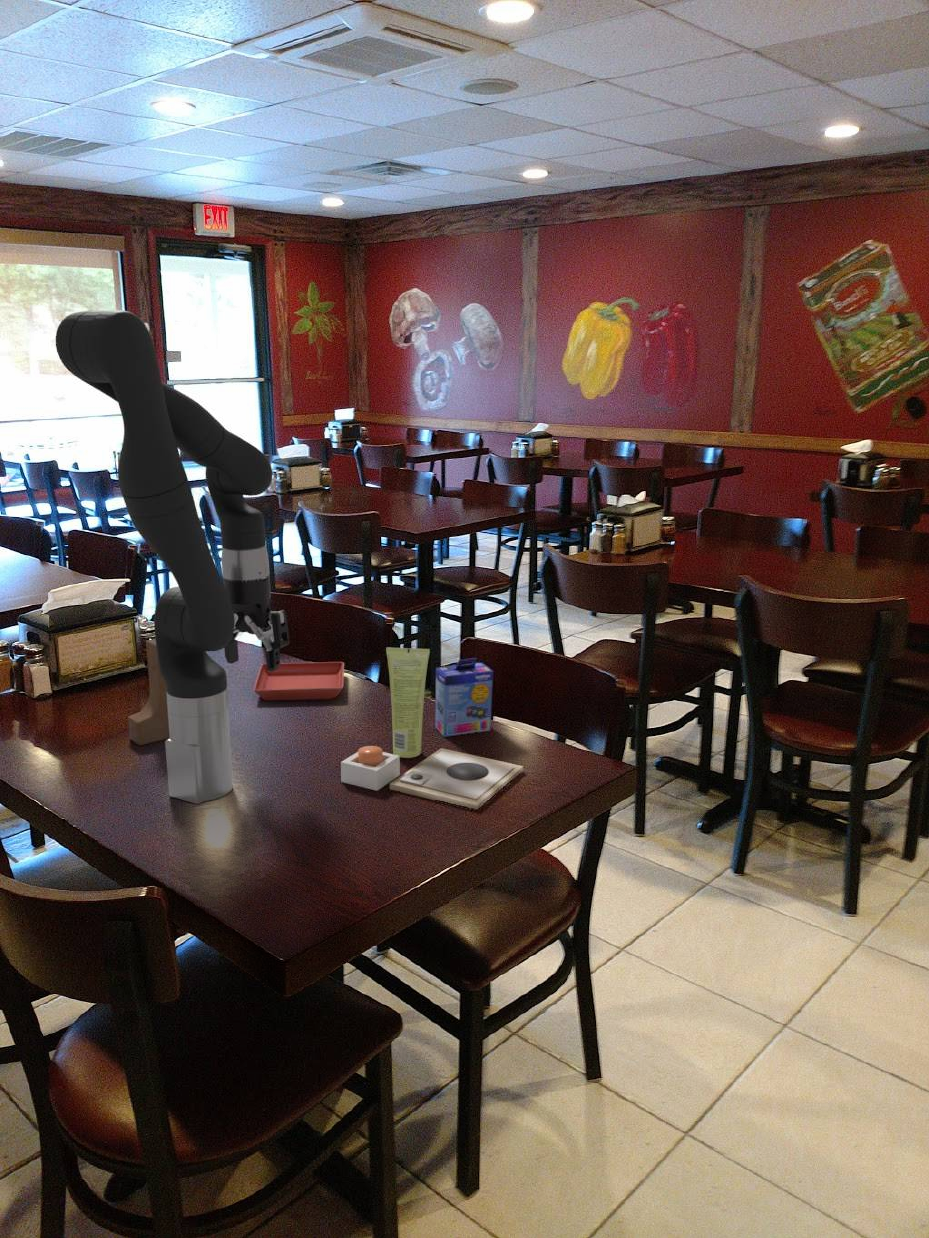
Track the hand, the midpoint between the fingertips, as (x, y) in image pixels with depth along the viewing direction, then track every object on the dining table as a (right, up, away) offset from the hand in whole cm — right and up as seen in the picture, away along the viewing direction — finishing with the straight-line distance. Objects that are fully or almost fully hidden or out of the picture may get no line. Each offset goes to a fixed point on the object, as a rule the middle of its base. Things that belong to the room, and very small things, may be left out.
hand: (252, 666), depth 164 cm
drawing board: (+35, -19, -2) cm, 39 cm away
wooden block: (-21, -14, +15) cm, 29 cm away
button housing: (+20, -19, -2) cm, 27 cm away
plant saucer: (+1, -7, +42) cm, 43 cm away
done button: (+20, -17, -2) cm, 27 cm away
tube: (+26, -16, +8) cm, 31 cm away
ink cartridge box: (+35, -13, +20) cm, 43 cm away
